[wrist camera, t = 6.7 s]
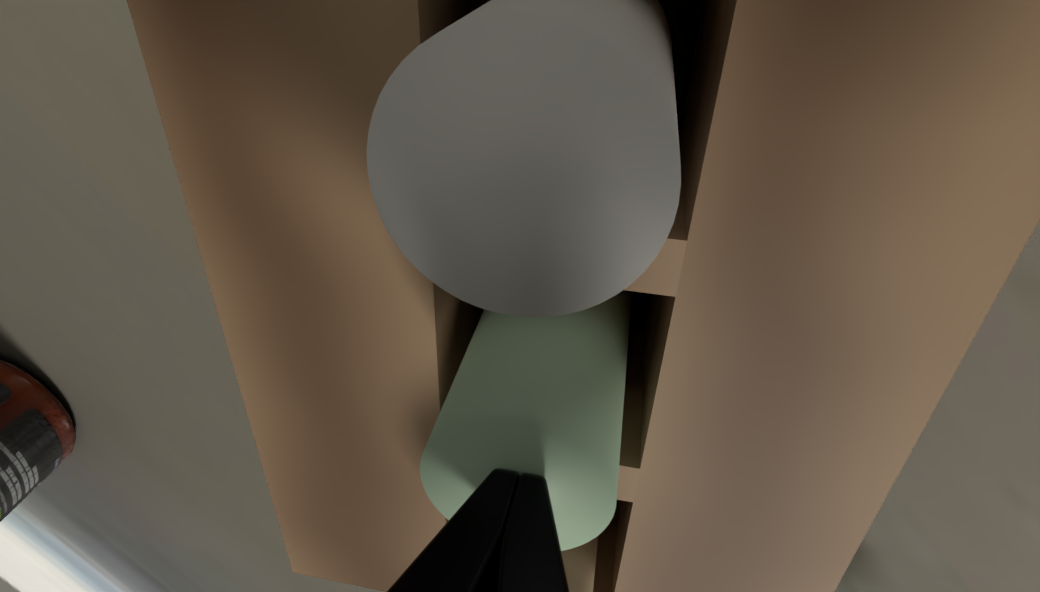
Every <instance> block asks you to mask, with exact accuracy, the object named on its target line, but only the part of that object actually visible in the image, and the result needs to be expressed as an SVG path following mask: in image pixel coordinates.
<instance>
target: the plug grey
mask: <svg viewBox="0 0 1040 592" xmlns="http://www.w3.org/2000/svg"><path fill="white" fill-rule="evenodd" d="M367 171H368V177H369V182H370V188H371V192H372V195H373V198H374V202H375V205H376V208H377V210H378V212H379V215H380V217H381V219H382V222H383V224H384V226H385V227H386V229H387V231H388V233H389V234H390V236H391V238H392V239H393V241H394V242H395V244H396V245H397V246H398V248H399V249H400V250H401V252H402V253H403V254H404V256H405V257H406V258H407V259H408V260H409V261H410V262H411V263H412V264H413V265H414V266H415V267H416V269H418V270H419V271H420V272H421V273H422V274H423V275H424V276H426V277H427V278H428V279H429V280H430V281H432V282H433V283H434V284H436V285H437V286H439V287H440V288H442V289H443V290H444V291H446V292H448V293H450V294H451V295H453V296H455V297H457V298H459V299H460V300H462V301H465V302H467V303H469V304H472V305H474V306H476V307H479V308H482V309H486V310H489V311H492V312H495V313H501V314H506V315H511V316H520V317H552V316H559V315H566V314H570V313H574V312H578V311H582V310H585V309H588V308H590V307H593V306H595V305H598V304H600V303H602V302H604V301H606V300H608V299H610V298H612V297H613V296H615V295H617V294H618V293H620V292H621V291H622V290H624V289H625V288H627V287H628V286H629V285H631V284H632V283H633V282H634V281H635V280H636V279H637V278H638V277H639V276H640V275H641V274H643V273H644V272H645V270H646V269H647V268H648V267H649V265H650V264H651V263H652V262H653V261H654V259H655V258H656V257H657V255H658V253H659V252H660V250H661V248H662V247H663V245H664V243H665V242H666V240H667V237H668V235H669V233H670V230H671V228H672V226H673V223H674V220H675V216H676V212H677V208H678V205H679V197H680V189H681V163H680V149H679V136H678V122H677V109H676V95H675V82H674V69H673V55H672V42H671V35H670V28H669V25H668V21H667V18H666V15H665V13H664V11H663V8H662V6H661V4H660V2H659V1H658V0H491V1H489V2H487V3H486V4H484V5H482V6H481V7H479V8H477V9H476V10H474V11H472V12H471V13H469V14H468V15H466V16H464V17H463V18H461V19H459V20H458V21H456V22H454V23H453V24H451V25H449V26H448V27H446V28H445V29H443V30H441V31H440V32H438V33H436V34H435V35H433V36H432V37H430V38H429V39H427V40H426V41H425V42H423V43H422V44H420V45H419V46H417V47H416V48H415V49H414V50H413V51H412V52H411V53H410V54H409V55H408V56H407V57H406V58H405V59H404V60H403V61H402V62H401V63H400V64H399V66H398V67H397V68H396V69H395V71H394V72H393V73H392V75H391V76H390V77H389V79H388V81H387V82H386V84H385V86H384V88H383V90H382V91H381V93H380V95H379V98H378V100H377V103H376V105H375V108H374V111H373V113H372V118H371V122H370V126H369V131H368V140H367Z"/></svg>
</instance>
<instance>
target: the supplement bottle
mask: <svg viewBox="0 0 1040 592" xmlns="http://www.w3.org/2000/svg"><path fill="white" fill-rule="evenodd" d="M75 439H76V434H75V429H74V426H73V423H72V420H71V418H70V416H69V414H68V413H67V411H66V410H65V408H64V407H63V405H62V404H61V403H60V401H59V400H58V399H57V398H56V396H54V395H53V394H52V393H51V392H50V391H49V390H48V389H47V388H46V387H45V386H44V385H42V384H41V383H40V382H39V381H38V380H36V379H35V378H34V377H33V376H31V375H30V374H29V373H27V372H26V371H24V370H23V369H21V368H19V367H17V366H15V365H12V364H9V363H7V362H5V361H2V360H0V522H1V521H2V520H3V519H4V518H5V517H6V516H7V515H8V514H9V513H10V512H11V511H12V510H13V509H14V508H15V507H16V506H17V505H18V504H19V503H20V502H22V500H23V499H25V498H26V497H27V496H28V495H29V494H30V493H31V492H32V491H33V490H34V489H35V488H36V487H37V486H38V485H39V484H40V483H41V482H42V481H43V480H44V479H46V477H47V476H49V475H50V474H51V473H52V472H53V471H54V470H55V469H56V468H57V467H58V465H59V464H60V463H61V462H62V461H63V460H64V459H65V458H66V457H67V456H69V455H70V453H71V452H72V450H73V447H74V444H75Z"/></svg>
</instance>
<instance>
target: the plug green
mask: <svg viewBox="0 0 1040 592" xmlns="http://www.w3.org/2000/svg"><path fill="white" fill-rule="evenodd" d="M631 297H632V291H626V290H622V291H621V292H620V293H618V294H617V295H615V296H613V297H612V298H610V299H608V300H606V301H604V302H602V303H600V304H598V305H595V306H593V307H590V308H588V309H585V310H582V311H578V312H574V313H570V314H566V315H559V316H552V317H520V316H511V315H506V314H501V313H495V312H492V311H489V310H486V309H484V311H483V313H482V316H481V318H480V320H479V323H478V325H477V327H476V330H475V332H474V334H473V337H472V339H471V341H470V344H469V346H468V348H467V351H466V353H465V355H464V358H463V360H462V362H461V365H460V367H459V369H458V372H457V374H456V376H455V379H454V381H453V383H452V386H451V388H450V390H449V393H448V395H447V397H446V400H445V402H444V404H443V407H442V409H441V411H440V414H439V416H438V418H437V421H436V423H435V425H434V428H433V430H432V432H431V435H430V437H429V439H428V442H427V444H426V446H425V449H424V451H423V453H422V456H421V461H420V476H421V481H422V484H423V487H424V490H425V492H426V494H427V496H428V498H429V499H430V500H431V502H432V503H433V505H434V506H435V507H436V508H437V510H438V511H439V512H440V513H441V514H442V515H443V516H444V517H445V518H446V519H448V520H450V518H451V517H452V516H453V515H454V514H455V513H456V511H457V510H458V509H459V508H460V507H461V506H462V505H463V503H464V502H465V501H466V500H467V499H468V498H469V497H470V495H471V494H472V493H473V492H474V491H475V490H476V488H477V487H478V486H479V485H480V484H481V483H482V482H483V480H484V479H485V478H486V477H487V476H488V475H489V474H490V472H491V471H492V470H494V469H496V468H501V469H506V470H512V471H516V472H518V473H519V476H520V475H521V474H522V473H529V474H535V475H540V476H543V477H545V479H546V481H547V486H548V490H549V495H550V500H551V505H552V510H553V514H554V519H555V524H556V529H557V534H558V538H559V543H560V548H561V551H563V550H568V549H572V548H575V547H578V546H581V545H583V544H585V543H587V542H589V541H591V540H592V539H594V538H596V537H597V536H598V535H599V534H600V533H602V532H603V531H604V530H605V529H606V527H607V526H608V525H609V523H610V522H611V520H612V518H613V516H614V513H615V509H616V502H617V488H618V474H619V461H620V447H621V433H622V420H623V406H624V392H625V379H626V365H627V351H628V338H629V324H630V310H631Z"/></svg>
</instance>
